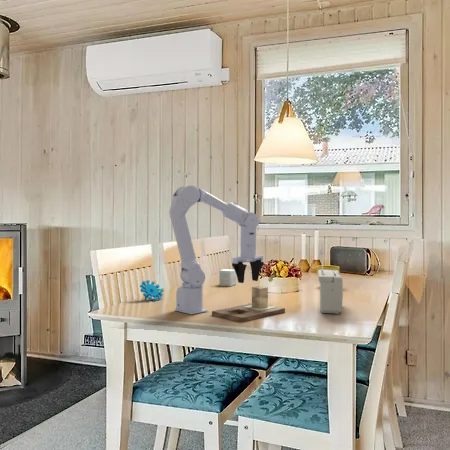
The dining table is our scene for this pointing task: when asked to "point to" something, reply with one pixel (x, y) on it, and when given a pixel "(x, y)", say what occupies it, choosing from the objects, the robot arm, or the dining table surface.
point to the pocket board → (247, 312)
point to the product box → (227, 277)
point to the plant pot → (327, 268)
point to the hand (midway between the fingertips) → (248, 281)
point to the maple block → (259, 297)
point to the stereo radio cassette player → (330, 290)
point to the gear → (151, 290)
